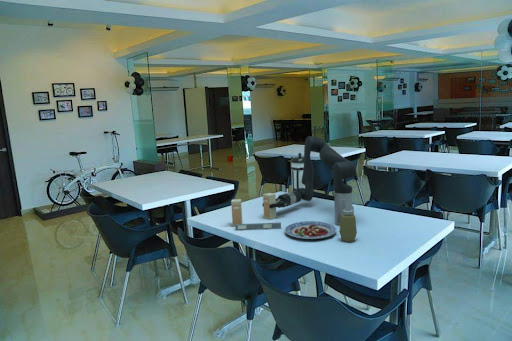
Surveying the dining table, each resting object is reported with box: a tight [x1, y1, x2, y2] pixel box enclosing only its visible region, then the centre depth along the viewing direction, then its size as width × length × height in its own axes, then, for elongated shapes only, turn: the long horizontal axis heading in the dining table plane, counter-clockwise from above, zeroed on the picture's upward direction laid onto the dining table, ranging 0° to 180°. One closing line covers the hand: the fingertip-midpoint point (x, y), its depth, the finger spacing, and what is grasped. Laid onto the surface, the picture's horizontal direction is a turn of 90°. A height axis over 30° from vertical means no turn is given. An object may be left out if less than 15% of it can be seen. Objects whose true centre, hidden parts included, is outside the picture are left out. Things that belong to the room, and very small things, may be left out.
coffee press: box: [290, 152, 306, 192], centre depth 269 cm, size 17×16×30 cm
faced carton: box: [230, 198, 243, 228], centre depth 215 cm, size 5×5×14 cm
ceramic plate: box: [284, 220, 337, 240], centre depth 199 cm, size 26×26×3 cm
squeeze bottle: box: [339, 203, 358, 243], centre depth 185 cm, size 8×8×18 cm
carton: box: [262, 192, 277, 221], centre depth 225 cm, size 5×5×14 cm
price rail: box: [234, 221, 282, 231], centre depth 208 cm, size 24×1×3 cm, turn 89°
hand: (266, 205), depth 223 cm, fingers closed on carton, 5 cm apart
